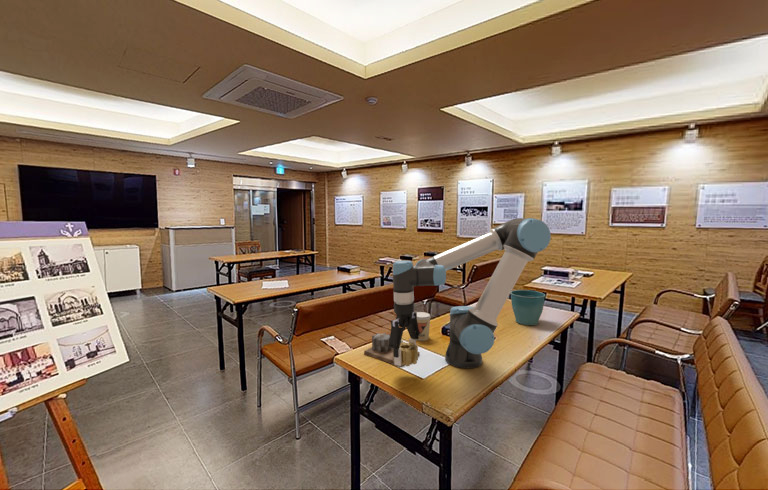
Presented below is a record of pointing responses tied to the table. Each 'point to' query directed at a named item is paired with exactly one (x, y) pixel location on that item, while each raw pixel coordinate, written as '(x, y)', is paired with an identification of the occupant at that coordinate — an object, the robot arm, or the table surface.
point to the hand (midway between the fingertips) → (405, 359)
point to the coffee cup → (423, 325)
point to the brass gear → (408, 353)
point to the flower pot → (527, 306)
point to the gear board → (382, 355)
